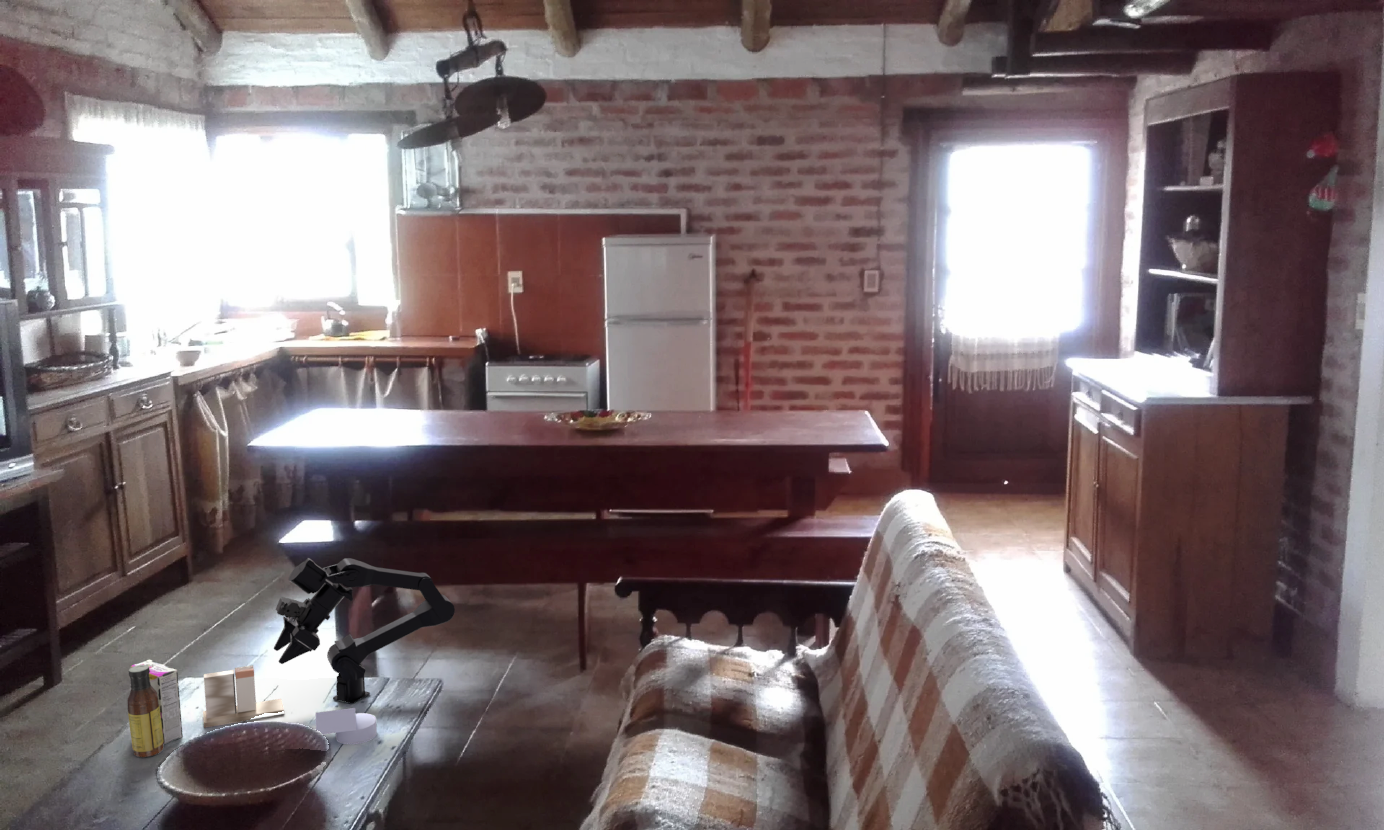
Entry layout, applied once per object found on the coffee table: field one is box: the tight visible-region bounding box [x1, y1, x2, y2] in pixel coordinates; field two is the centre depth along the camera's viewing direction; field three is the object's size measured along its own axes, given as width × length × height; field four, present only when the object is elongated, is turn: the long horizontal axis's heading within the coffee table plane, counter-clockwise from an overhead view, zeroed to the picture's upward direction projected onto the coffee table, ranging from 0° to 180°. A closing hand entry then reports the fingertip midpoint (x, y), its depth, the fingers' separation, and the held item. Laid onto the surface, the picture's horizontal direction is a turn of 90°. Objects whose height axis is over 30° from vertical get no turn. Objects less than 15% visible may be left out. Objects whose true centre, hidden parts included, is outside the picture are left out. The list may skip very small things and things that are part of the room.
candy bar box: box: [129, 659, 184, 745], centre depth 249 cm, size 11×5×16 cm, turn 58°
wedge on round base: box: [315, 707, 378, 745], centre depth 250 cm, size 9×7×13 cm
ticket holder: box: [202, 669, 285, 729], centre depth 260 cm, size 18×7×11 cm, turn 115°
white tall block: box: [234, 665, 257, 713], centre depth 260 cm, size 4×3×10 cm
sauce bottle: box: [127, 665, 164, 758], centre depth 240 cm, size 6×6×20 cm
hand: (277, 656), depth 261 cm, fingers open, 9 cm apart
